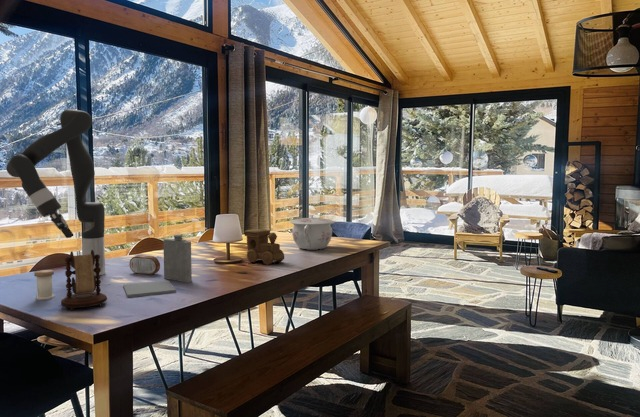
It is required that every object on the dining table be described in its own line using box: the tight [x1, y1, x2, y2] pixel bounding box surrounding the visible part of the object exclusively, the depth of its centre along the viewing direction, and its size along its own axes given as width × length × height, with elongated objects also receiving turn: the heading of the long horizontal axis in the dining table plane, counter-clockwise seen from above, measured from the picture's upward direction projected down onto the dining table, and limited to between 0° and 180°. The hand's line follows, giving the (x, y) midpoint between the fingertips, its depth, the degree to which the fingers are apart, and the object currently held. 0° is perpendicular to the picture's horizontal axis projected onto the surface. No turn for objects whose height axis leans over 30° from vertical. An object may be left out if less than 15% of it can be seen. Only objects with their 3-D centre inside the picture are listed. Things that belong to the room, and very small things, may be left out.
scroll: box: [60, 250, 108, 312], centre depth 174 cm, size 15×15×20 cm
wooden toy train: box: [244, 228, 285, 266], centre depth 255 cm, size 20×11×17 cm, turn 56°
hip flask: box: [162, 234, 193, 283], centre depth 215 cm, size 16×4×20 cm, turn 58°
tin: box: [129, 254, 161, 275], centre depth 227 cm, size 15×3×8 cm, turn 74°
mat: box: [122, 279, 177, 298], centre depth 198 cm, size 18×18×1 cm
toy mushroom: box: [33, 269, 55, 301], centre depth 185 cm, size 6×6×10 cm
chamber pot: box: [289, 214, 335, 251], centre depth 299 cm, size 28×28×21 cm
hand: (70, 236), depth 192 cm, fingers open, 8 cm apart
